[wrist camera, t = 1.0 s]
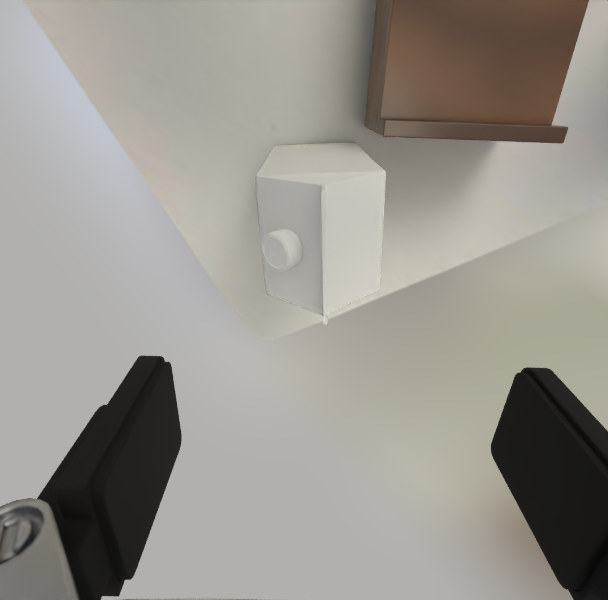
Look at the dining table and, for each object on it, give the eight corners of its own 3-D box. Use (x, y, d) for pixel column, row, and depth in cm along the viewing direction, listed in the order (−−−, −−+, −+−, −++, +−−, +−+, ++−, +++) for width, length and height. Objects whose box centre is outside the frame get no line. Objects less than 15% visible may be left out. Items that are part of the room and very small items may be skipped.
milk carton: (354, 141, 34) (403, 186, 17) (353, 220, 37) (393, 323, 21) (273, 144, 34) (243, 192, 17) (279, 223, 38) (258, 328, 21)
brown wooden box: (385, -93, 27) (419, -172, 19) (556, -85, 27) (661, -160, 19) (364, 127, 34) (382, 136, 26) (502, 132, 34) (563, 143, 26)
